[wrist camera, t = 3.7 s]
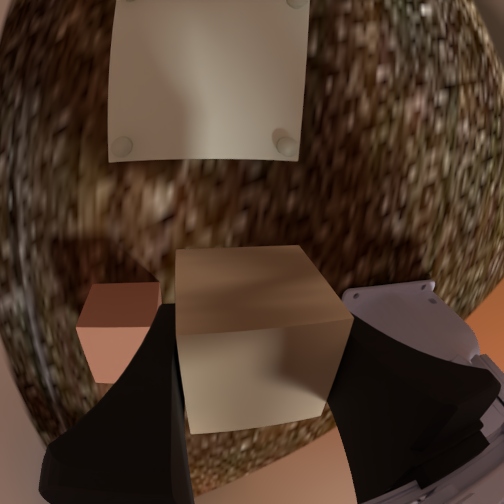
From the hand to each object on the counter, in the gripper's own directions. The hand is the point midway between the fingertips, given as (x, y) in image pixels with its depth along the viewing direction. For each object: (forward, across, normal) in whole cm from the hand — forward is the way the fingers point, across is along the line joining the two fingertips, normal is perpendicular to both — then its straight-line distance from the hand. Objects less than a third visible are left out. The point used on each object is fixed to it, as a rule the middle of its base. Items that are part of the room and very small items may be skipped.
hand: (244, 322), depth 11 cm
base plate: (+8, +1, -9) cm, 13 cm away
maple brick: (+1, 0, 0) cm, 1 cm away
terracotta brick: (+9, +6, +6) cm, 12 cm away
